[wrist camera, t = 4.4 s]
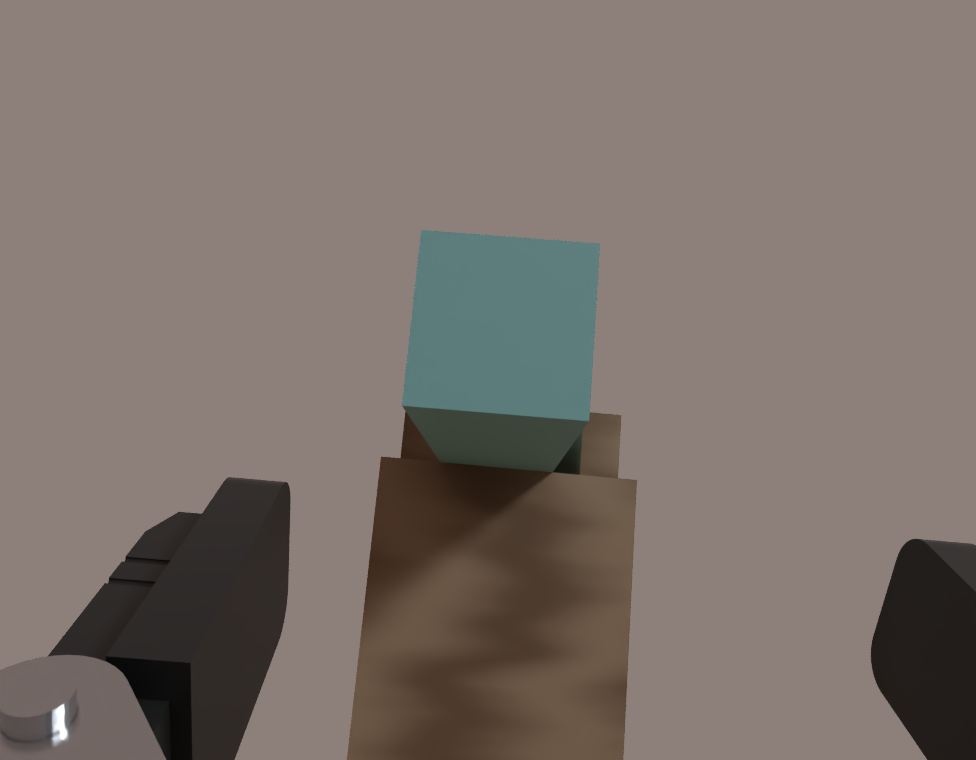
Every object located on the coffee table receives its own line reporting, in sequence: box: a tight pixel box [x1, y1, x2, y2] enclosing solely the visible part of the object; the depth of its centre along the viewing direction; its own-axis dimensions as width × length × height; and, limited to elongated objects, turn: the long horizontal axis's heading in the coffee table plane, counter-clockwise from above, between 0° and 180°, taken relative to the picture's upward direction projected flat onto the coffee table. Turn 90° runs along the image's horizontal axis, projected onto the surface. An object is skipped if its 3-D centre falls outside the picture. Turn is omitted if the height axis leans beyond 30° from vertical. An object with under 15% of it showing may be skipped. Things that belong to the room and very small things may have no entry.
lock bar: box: [402, 230, 600, 472], centre depth 28 cm, size 4×26×4 cm, turn 179°
